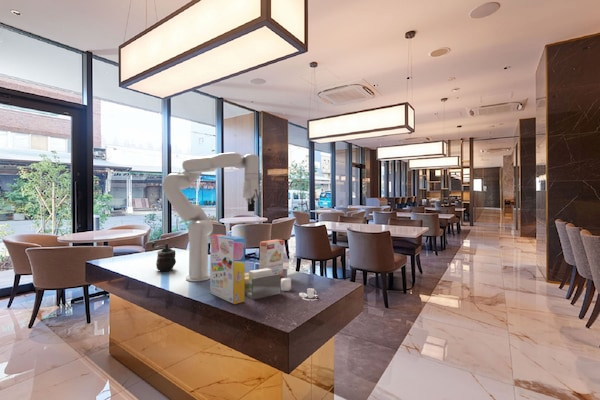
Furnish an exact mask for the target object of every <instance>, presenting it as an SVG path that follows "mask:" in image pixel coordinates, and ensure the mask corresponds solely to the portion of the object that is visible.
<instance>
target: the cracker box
mask: <svg viewBox="0 0 600 400" xmlns="http://www.w3.org/2000/svg"><path fill="white" fill-rule="evenodd" d="M284 241H285V240H283V239H278V238H276V239H271V240H269V239H268V240H262V241H260V242H259V269H265V268H269V269H272V275H273V274H280V278H284V254H285V253H284V252H285V251H284V247H285V242H284Z"/></svg>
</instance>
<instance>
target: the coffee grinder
mask: <svg viewBox="0 0 600 400" xmlns="http://www.w3.org/2000/svg"><path fill="white" fill-rule="evenodd" d="M155 245H157V242H155V241H153V242H151V247H152V249H157V248H159V247H162V249H161V250H158V251H157V257H156V262H155V264H156V269H157V271H159V270H160V271H159V272H161V271H164V272H169V270H171V269H172V270H173V269H174V267H175V265H176V263H177V261H176V251H175V250H173V249H172V248H170V247H169V243H168V242H166V243H165V244H160V245H157V246H155ZM163 247H164V248H163ZM172 270H171V271H172Z"/></svg>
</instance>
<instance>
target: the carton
mask: <svg viewBox="0 0 600 400" xmlns="http://www.w3.org/2000/svg"><path fill="white" fill-rule="evenodd" d="M248 273H249V291H251V292H252V278H255V277H261V276H267V275H272V269H269V268H265V269H254V270H253V269H252V270H248Z"/></svg>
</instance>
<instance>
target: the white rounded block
mask: <svg viewBox="0 0 600 400" xmlns="http://www.w3.org/2000/svg"><path fill="white" fill-rule="evenodd" d="M291 290H292V278H291V277H280V291H282V292H288V291H291Z"/></svg>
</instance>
